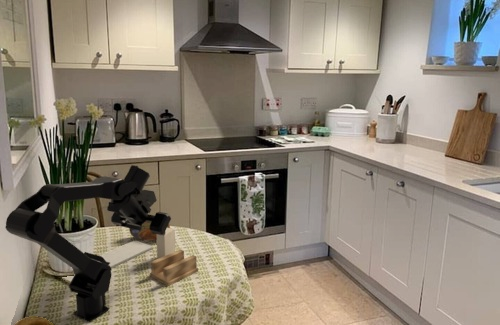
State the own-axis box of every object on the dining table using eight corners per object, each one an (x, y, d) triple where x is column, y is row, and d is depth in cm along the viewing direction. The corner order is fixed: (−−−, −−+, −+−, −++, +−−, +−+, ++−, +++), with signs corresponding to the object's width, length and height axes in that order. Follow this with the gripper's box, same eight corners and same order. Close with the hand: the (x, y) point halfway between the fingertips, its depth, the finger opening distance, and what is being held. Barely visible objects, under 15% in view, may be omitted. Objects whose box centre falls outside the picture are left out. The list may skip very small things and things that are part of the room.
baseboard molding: (51, 276, 125) (75, 288, 118) (51, 267, 124) (74, 279, 118) (130, 242, 150) (153, 250, 144) (130, 234, 149) (152, 242, 143)
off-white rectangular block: (165, 263, 133) (164, 235, 131) (157, 261, 134) (156, 233, 132) (175, 255, 139) (174, 229, 136) (167, 254, 140) (166, 227, 138)
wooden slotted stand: (168, 286, 119) (167, 270, 118) (150, 275, 125) (149, 261, 124) (197, 271, 128) (197, 257, 127) (179, 262, 134) (179, 248, 133)
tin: (129, 239, 151) (128, 218, 149) (132, 236, 154) (131, 215, 152) (169, 241, 150) (168, 220, 149) (170, 237, 154) (170, 217, 152)
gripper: (168, 187, 115) (187, 214, 127) (117, 179, 123) (140, 205, 135) (150, 221, 110) (173, 246, 122) (98, 210, 117) (124, 235, 129)
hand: (152, 231), depth 127 cm, fingers open, 9 cm apart
